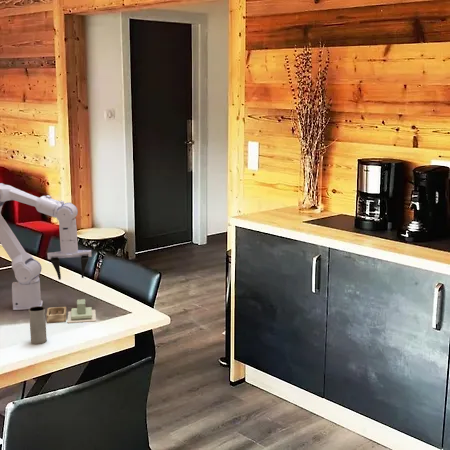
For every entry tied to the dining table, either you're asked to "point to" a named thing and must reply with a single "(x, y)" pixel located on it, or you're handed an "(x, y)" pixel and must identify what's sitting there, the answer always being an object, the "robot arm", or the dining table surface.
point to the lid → (81, 310)
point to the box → (56, 314)
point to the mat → (81, 319)
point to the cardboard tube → (37, 325)
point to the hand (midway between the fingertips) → (71, 278)
